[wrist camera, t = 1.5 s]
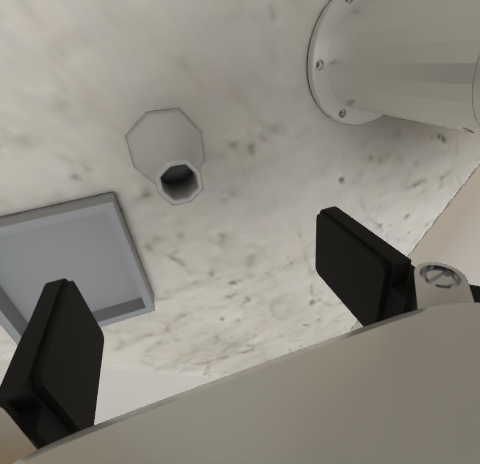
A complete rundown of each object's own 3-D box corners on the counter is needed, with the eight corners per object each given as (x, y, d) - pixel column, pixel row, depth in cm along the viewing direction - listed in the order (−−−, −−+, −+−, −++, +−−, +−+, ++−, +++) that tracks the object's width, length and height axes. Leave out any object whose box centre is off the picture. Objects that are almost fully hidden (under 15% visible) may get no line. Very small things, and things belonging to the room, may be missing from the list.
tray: (113, 191, 28) (111, 201, 26) (153, 295, 36) (154, 310, 33) (-50, 227, 26) (-67, 242, 23) (30, 332, 33) (22, 351, 31)
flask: (216, 163, 30) (246, 201, 22) (154, 196, 30) (160, 246, 21) (182, 93, 26) (203, 106, 18) (110, 130, 26) (97, 161, 17)
